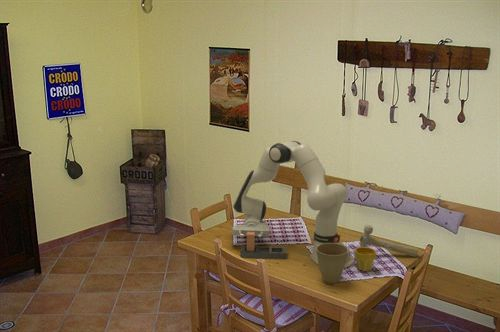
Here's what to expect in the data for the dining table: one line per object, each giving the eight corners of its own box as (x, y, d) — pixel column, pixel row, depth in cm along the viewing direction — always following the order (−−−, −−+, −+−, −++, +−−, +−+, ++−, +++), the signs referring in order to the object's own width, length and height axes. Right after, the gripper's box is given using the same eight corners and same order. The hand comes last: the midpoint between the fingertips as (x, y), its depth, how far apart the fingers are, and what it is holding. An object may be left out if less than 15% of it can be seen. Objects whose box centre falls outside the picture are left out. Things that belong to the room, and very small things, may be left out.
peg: (254, 253, 289) (254, 232, 286) (254, 256, 285) (254, 234, 282) (246, 253, 289) (247, 231, 286) (246, 256, 285) (246, 234, 282)
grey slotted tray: (286, 252, 290) (286, 247, 289) (286, 258, 282) (286, 253, 282) (241, 251, 291) (241, 246, 290) (240, 257, 283) (240, 252, 282)
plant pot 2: (361, 262, 279) (362, 244, 276) (378, 269, 272) (380, 251, 269) (349, 268, 272) (350, 250, 270) (366, 275, 265) (368, 256, 262)
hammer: (419, 237, 287) (364, 223, 287) (421, 241, 283) (365, 227, 282) (410, 264, 291) (356, 250, 291) (412, 268, 287) (357, 254, 286)
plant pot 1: (329, 270, 270) (331, 240, 266) (353, 281, 259) (355, 249, 255) (308, 278, 261) (309, 247, 257) (331, 290, 249) (333, 258, 245)
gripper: (232, 221, 300) (230, 230, 287) (269, 222, 300) (269, 231, 286) (232, 231, 302) (230, 241, 289) (269, 232, 301) (269, 242, 288)
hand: (250, 236), depth 287 cm, fingers open, 8 cm apart
